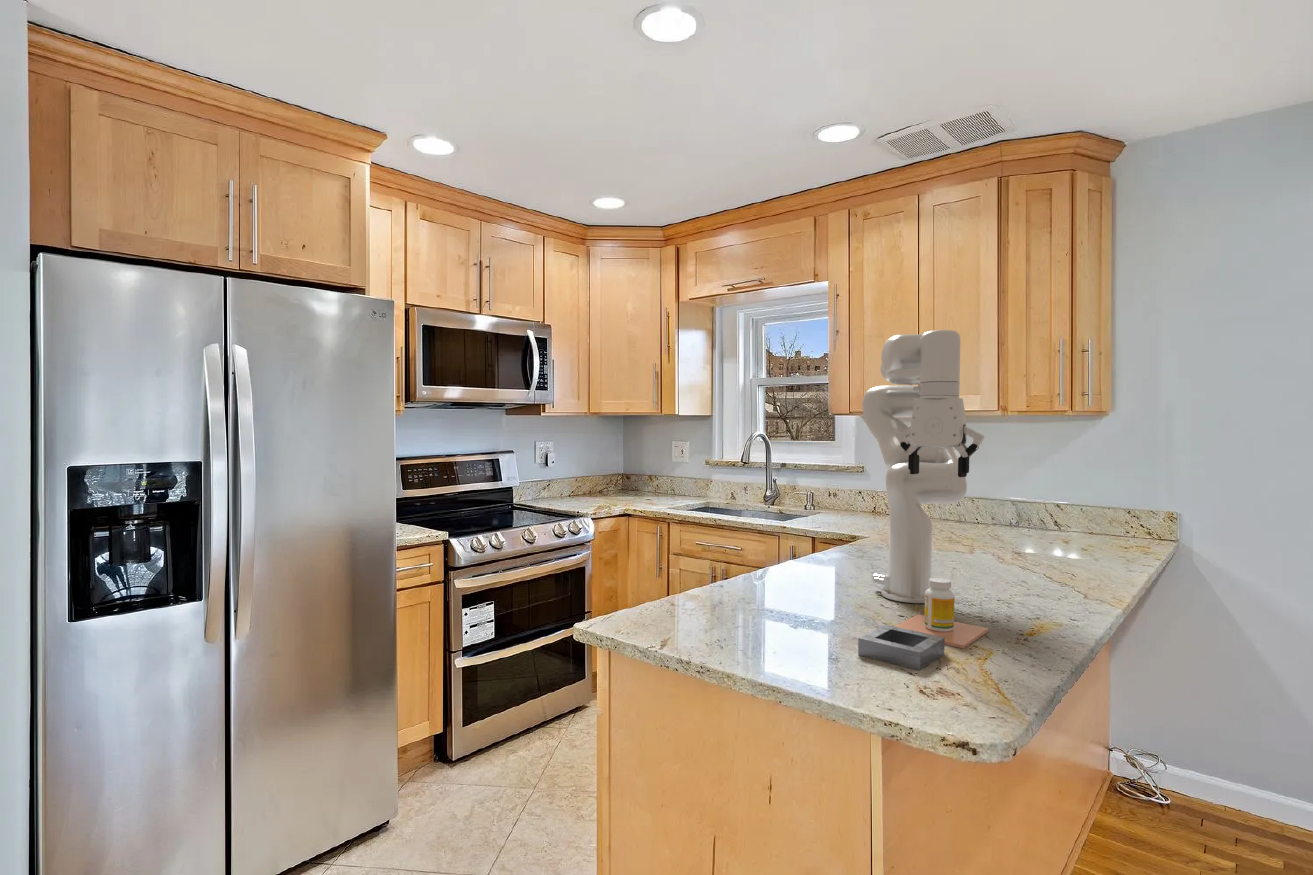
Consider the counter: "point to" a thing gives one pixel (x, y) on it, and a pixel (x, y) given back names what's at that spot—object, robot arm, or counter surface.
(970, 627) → the tile
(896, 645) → the collar
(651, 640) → the counter surface
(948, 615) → the supplement bottle
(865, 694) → the counter surface
